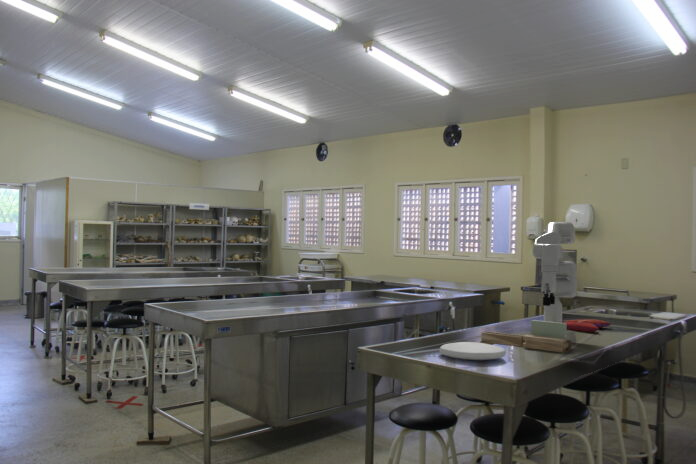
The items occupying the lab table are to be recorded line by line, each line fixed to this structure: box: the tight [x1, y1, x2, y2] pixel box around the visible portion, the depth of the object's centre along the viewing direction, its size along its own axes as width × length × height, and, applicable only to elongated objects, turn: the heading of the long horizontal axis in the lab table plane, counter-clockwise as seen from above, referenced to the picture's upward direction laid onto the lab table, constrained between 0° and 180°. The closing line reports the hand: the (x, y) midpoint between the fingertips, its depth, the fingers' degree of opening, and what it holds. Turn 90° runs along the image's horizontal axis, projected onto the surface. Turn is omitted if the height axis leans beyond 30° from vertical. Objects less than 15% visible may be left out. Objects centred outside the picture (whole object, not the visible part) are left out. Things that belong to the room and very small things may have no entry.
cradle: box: [479, 331, 526, 347], centre depth 265 cm, size 10×20×5 cm, turn 57°
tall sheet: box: [530, 319, 567, 339], centre depth 257 cm, size 2×16×12 cm, turn 57°
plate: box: [439, 341, 507, 361], centre depth 234 cm, size 28×6×27 cm
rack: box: [522, 333, 573, 354], centre depth 254 cm, size 14×20×7 cm
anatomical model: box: [562, 318, 612, 333], centre depth 326 cm, size 30×7×30 cm
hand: (548, 304), depth 257 cm, fingers open, 9 cm apart
